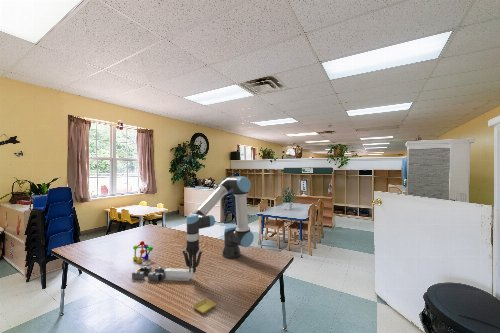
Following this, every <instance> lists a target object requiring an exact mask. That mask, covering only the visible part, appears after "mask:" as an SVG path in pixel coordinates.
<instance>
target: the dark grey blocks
mask: <svg viewBox="0 0 500 333" xmlns="http://www.w3.org/2000/svg"><path fill="white" fill-rule="evenodd" d="M166 268H167V267H163V266H158V267H156V268H154V271H152V269H153V268H152V266H147V265H143V266H140V267H139V268H137V269H136V270H133V272H131V280H134V281H135V280H137V281H143V280H145V277H146V276H145V275H147V281H149V282H159V281H161V282H164V281H165V280H164V270H165V269H166Z"/></svg>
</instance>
